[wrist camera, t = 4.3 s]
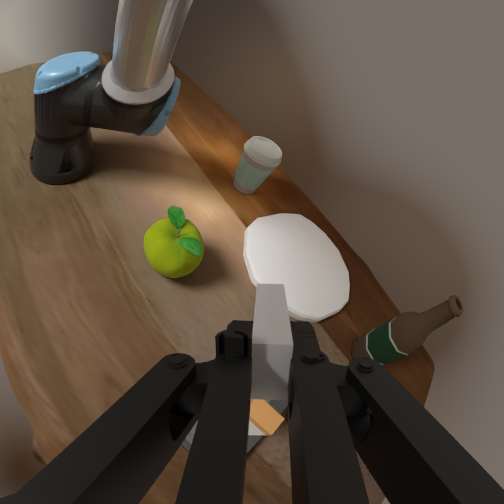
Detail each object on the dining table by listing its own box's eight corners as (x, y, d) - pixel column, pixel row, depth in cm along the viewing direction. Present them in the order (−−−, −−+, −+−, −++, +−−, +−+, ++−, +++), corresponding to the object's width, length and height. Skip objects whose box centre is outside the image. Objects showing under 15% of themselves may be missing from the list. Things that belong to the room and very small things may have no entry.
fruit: (181, 236, 52) (196, 199, 45) (202, 280, 49) (221, 247, 42) (133, 246, 47) (140, 207, 40) (152, 294, 44) (161, 262, 37)
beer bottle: (344, 357, 53) (445, 305, 35) (357, 329, 58) (447, 273, 40) (369, 378, 52) (469, 334, 34) (379, 350, 57) (470, 302, 39)
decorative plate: (228, 214, 55) (315, 202, 69) (221, 227, 58) (306, 213, 72) (294, 334, 46) (372, 291, 61) (281, 342, 50) (360, 299, 64)
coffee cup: (267, 195, 69) (291, 158, 60) (240, 202, 64) (264, 162, 55) (247, 170, 71) (268, 133, 62) (219, 175, 66) (240, 135, 57)
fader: (225, 438, 34) (266, 440, 25) (205, 419, 35) (239, 415, 25) (243, 419, 37) (288, 413, 27) (224, 400, 37) (263, 389, 28)
